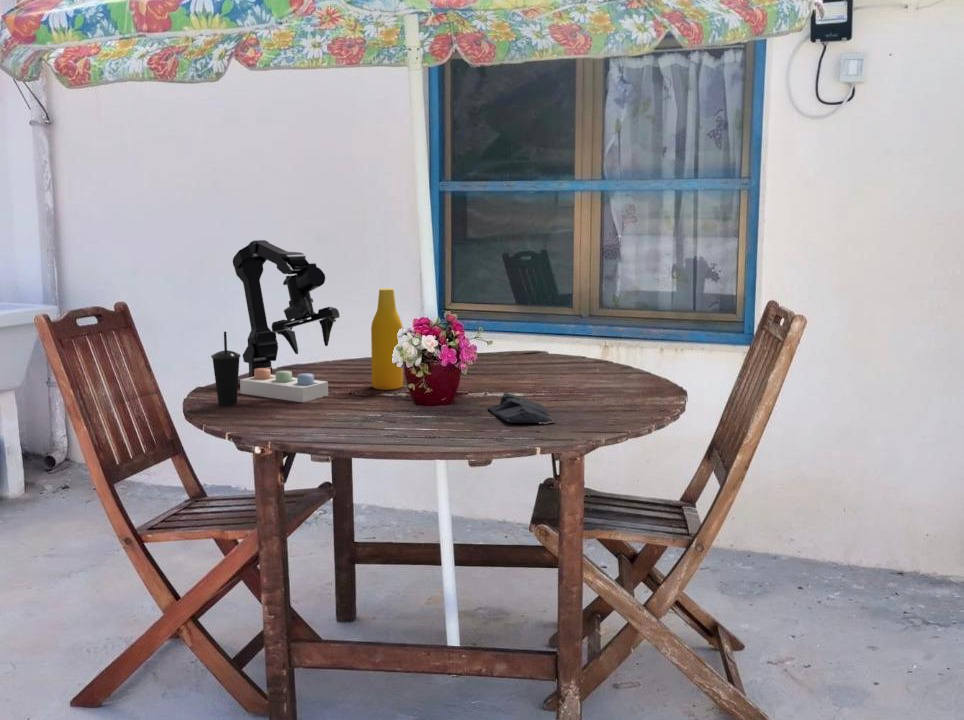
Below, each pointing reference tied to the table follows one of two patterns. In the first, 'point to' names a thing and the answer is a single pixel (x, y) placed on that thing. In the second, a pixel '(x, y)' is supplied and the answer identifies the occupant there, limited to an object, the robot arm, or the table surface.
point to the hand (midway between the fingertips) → (311, 349)
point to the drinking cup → (226, 375)
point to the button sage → (283, 376)
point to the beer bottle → (385, 343)
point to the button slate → (305, 379)
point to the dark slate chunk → (519, 410)
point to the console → (283, 389)
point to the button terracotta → (262, 373)
